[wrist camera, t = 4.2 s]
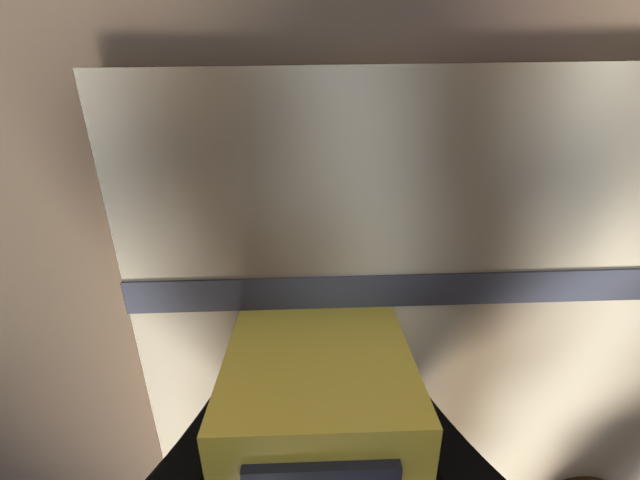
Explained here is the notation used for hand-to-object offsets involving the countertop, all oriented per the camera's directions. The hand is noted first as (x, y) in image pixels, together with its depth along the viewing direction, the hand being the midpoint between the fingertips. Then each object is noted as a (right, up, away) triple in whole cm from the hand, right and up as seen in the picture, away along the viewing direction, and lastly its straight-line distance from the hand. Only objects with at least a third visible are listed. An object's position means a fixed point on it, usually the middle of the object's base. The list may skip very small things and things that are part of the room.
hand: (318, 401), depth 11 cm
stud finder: (0, 0, +1) cm, 1 cm away
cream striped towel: (+4, 0, +2) cm, 4 cm away
